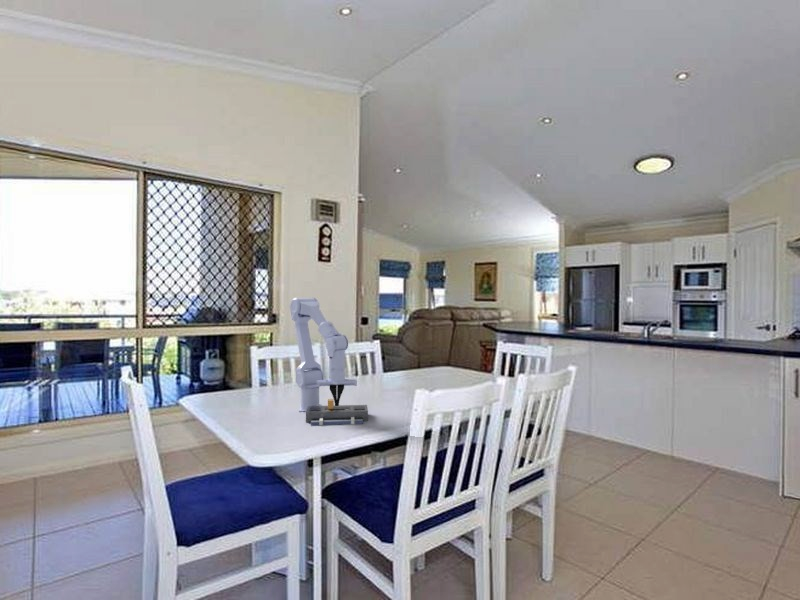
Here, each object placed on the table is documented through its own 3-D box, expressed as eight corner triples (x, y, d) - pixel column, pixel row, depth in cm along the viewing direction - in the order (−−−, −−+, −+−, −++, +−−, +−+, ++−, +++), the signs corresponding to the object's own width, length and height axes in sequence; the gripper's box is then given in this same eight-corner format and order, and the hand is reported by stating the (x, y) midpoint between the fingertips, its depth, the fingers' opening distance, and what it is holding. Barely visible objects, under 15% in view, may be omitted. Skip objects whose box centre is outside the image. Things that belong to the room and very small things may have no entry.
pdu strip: (308, 415, 176) (308, 405, 176) (366, 414, 179) (367, 404, 179) (305, 422, 168) (305, 412, 167) (367, 420, 170) (368, 410, 170)
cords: (311, 422, 168) (311, 417, 168) (362, 421, 170) (362, 416, 169) (310, 425, 164) (310, 420, 164) (362, 424, 166) (362, 419, 166)
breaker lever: (328, 407, 174) (328, 399, 174) (333, 407, 174) (333, 398, 174) (327, 408, 172) (327, 400, 171) (333, 408, 172) (333, 400, 172)
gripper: (316, 370, 168) (316, 408, 168) (357, 370, 169) (356, 407, 170) (317, 367, 175) (317, 403, 175) (356, 366, 176) (356, 402, 177)
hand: (336, 405), depth 173 cm, fingers closed
